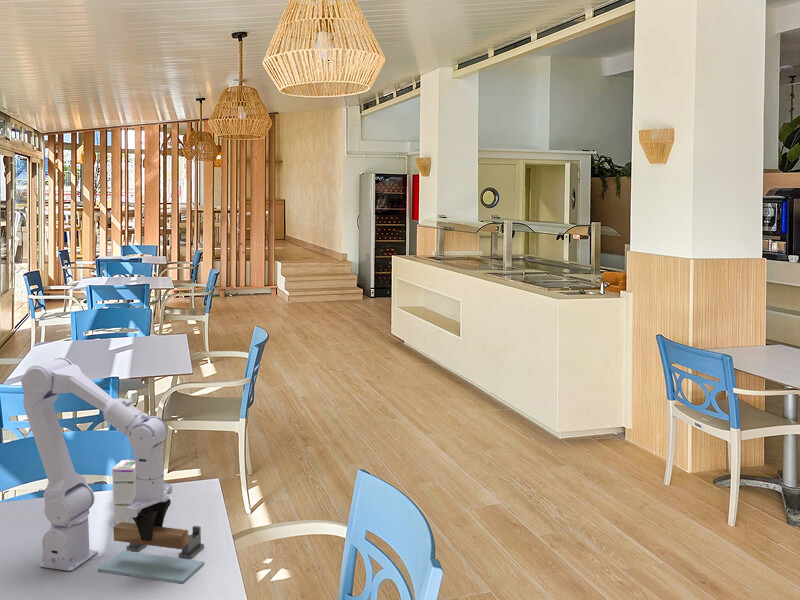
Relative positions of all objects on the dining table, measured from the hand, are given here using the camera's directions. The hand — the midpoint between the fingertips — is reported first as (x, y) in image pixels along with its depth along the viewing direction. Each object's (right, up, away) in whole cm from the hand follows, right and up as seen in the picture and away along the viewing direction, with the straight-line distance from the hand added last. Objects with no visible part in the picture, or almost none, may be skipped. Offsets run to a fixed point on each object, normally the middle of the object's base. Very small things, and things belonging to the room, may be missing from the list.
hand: (151, 536), depth 165 cm
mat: (0, -7, +1) cm, 7 cm away
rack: (0, -6, +10) cm, 12 cm away
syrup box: (-14, -4, +26) cm, 29 cm away
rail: (0, -1, 0) cm, 1 cm away
